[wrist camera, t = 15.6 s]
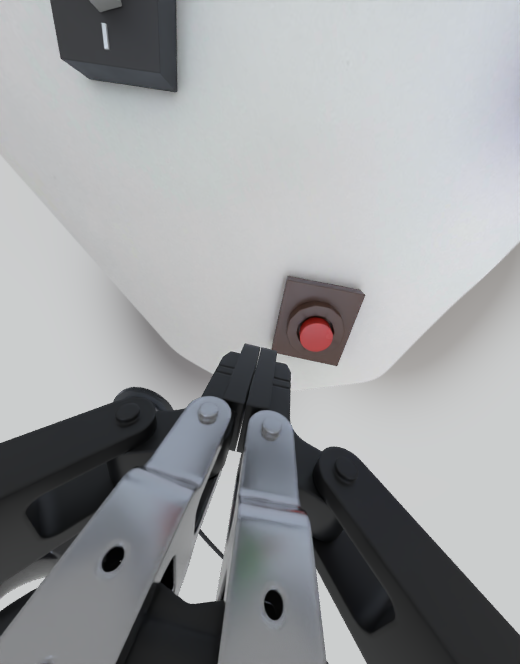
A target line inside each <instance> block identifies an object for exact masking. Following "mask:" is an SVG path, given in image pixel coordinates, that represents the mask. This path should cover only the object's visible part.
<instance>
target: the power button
mask: <svg viewBox="0 0 520 664" xmlns="http://www.w3.org/2000/svg"><path fill="white" fill-rule="evenodd" d="M299 332H300V342H301V344H302V346H303V347H304V348H306V349H307V350H309V351H313V352H318V351H322V350H325V349H326V348H328V347H329V346H330V344H331V343H332V340H333V333H332V331H331V328H330V325H329V323H328V322H327V321H326V320H324V319H322V318H318V317H313V318H309V319H307V320H306V321H304V322H303V323H302V325H301V327H300V331H299Z"/></svg>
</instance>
